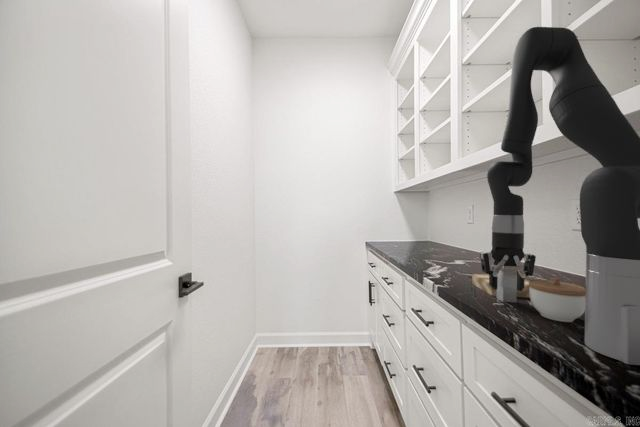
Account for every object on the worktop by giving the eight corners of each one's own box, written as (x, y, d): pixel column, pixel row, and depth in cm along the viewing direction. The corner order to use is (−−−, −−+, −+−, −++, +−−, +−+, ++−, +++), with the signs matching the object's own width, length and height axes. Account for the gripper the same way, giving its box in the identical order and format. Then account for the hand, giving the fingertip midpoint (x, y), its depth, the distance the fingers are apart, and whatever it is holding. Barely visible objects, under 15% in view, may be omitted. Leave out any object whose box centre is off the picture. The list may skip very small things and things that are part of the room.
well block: (542, 298, 80) (542, 286, 80) (491, 295, 82) (492, 283, 82) (514, 285, 94) (514, 275, 94) (471, 283, 96) (472, 273, 96)
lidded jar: (533, 320, 63) (534, 280, 63) (524, 306, 72) (524, 271, 72) (596, 330, 58) (597, 286, 58) (577, 314, 67) (578, 276, 67)
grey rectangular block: (516, 302, 76) (517, 266, 75) (503, 301, 76) (503, 266, 76) (509, 298, 79) (510, 264, 79) (496, 297, 79) (497, 263, 79)
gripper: (487, 231, 75) (485, 291, 75) (544, 232, 73) (542, 294, 73) (475, 229, 82) (474, 284, 82) (526, 231, 80) (525, 287, 80)
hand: (506, 289), depth 77 cm, fingers open, 6 cm apart
